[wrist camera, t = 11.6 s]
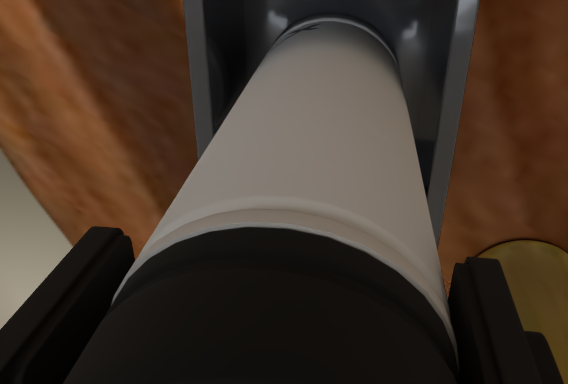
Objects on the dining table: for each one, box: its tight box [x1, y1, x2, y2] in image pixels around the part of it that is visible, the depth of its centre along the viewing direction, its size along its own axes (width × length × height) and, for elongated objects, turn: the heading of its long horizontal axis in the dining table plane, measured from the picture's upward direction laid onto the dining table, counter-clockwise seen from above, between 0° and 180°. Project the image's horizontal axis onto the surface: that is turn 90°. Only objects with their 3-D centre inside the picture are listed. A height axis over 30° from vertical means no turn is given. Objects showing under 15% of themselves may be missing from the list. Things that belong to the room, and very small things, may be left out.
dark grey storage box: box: [183, 0, 480, 250], centre depth 21 cm, size 11×9×7 cm
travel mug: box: [63, 13, 460, 384], centre depth 15 cm, size 6×7×20 cm
